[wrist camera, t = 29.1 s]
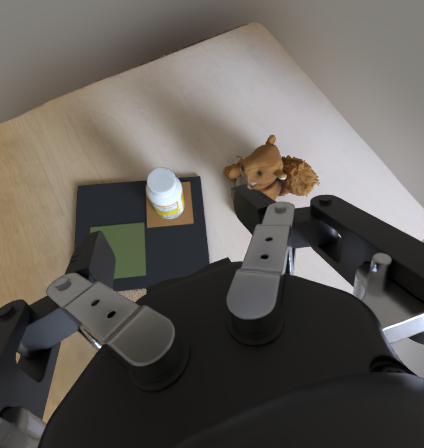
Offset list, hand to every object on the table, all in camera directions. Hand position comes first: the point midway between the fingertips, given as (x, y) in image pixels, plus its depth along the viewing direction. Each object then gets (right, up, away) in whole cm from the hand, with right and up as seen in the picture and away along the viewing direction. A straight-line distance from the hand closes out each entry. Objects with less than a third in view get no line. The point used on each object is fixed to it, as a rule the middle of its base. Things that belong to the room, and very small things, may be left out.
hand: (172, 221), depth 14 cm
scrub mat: (-10, -2, +26) cm, 28 cm away
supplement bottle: (-5, +3, +27) cm, 28 cm away
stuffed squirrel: (+11, +6, +30) cm, 33 cm away
